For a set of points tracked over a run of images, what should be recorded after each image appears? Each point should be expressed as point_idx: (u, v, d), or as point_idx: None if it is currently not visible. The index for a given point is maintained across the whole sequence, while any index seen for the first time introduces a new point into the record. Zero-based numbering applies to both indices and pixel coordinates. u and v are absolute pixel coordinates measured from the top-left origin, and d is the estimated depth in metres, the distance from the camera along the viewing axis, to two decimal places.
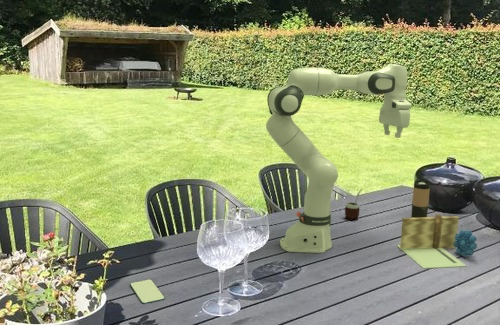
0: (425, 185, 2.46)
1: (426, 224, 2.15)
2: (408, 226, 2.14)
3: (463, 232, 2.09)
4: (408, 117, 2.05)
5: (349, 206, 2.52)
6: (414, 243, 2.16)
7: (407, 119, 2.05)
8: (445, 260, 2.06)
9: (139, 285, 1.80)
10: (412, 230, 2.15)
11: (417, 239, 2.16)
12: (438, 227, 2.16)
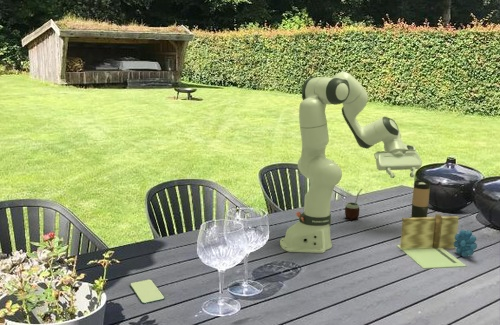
0: (425, 185, 2.46)
1: (426, 224, 2.15)
2: (408, 226, 2.14)
3: (463, 232, 2.09)
4: None
5: (349, 206, 2.52)
6: (414, 243, 2.16)
7: None
8: (445, 260, 2.06)
9: (139, 285, 1.80)
10: (412, 230, 2.15)
11: (417, 239, 2.16)
12: (438, 227, 2.16)
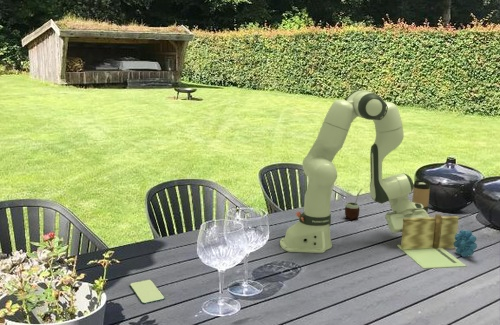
0: (425, 185, 2.46)
1: (426, 224, 2.15)
2: (409, 226, 2.13)
3: (463, 232, 2.09)
4: None
5: (349, 206, 2.52)
6: (415, 243, 2.16)
7: None
8: (445, 260, 2.06)
9: (139, 285, 1.79)
10: (413, 230, 2.14)
11: (418, 239, 2.16)
12: (438, 227, 2.16)
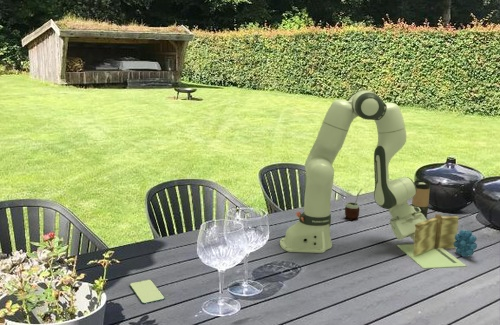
0: (425, 185, 2.46)
1: (431, 226, 2.13)
2: (421, 231, 2.08)
3: (463, 232, 2.09)
4: None
5: (349, 206, 2.52)
6: (424, 247, 2.12)
7: None
8: (445, 260, 2.06)
9: (139, 285, 1.79)
10: (423, 234, 2.10)
11: (425, 243, 2.12)
12: (438, 227, 2.16)
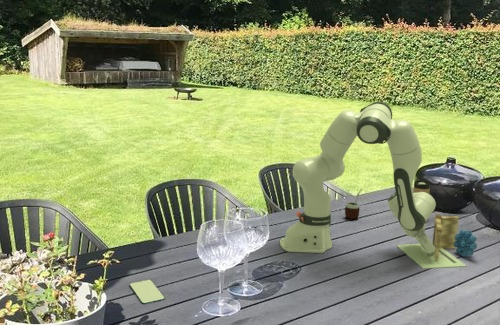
0: (425, 185, 2.46)
1: None
2: None
3: (463, 232, 2.09)
4: None
5: (349, 206, 2.52)
6: None
7: None
8: (445, 260, 2.06)
9: (139, 285, 1.79)
10: None
11: None
12: None
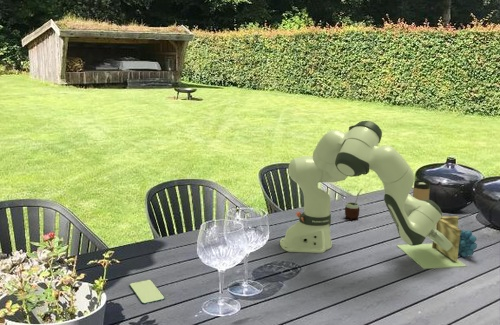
0: (425, 185, 2.46)
1: None
2: None
3: (463, 232, 2.09)
4: None
5: (349, 206, 2.52)
6: None
7: None
8: (445, 260, 2.06)
9: (139, 285, 1.79)
10: None
11: None
12: None
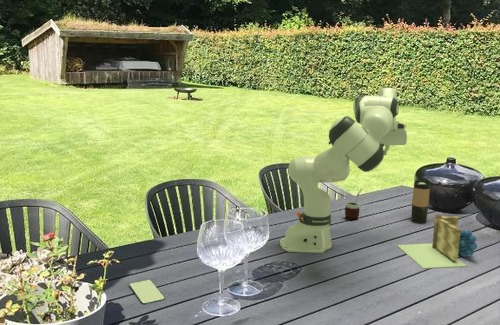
0: (425, 185, 2.46)
1: None
2: None
3: (463, 232, 2.09)
4: None
5: (349, 206, 2.52)
6: None
7: None
8: (445, 260, 2.06)
9: (138, 285, 1.79)
10: None
11: None
12: None
